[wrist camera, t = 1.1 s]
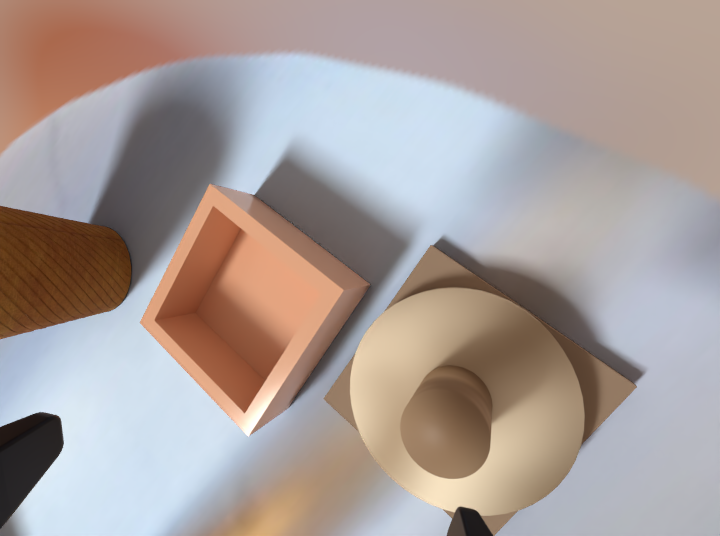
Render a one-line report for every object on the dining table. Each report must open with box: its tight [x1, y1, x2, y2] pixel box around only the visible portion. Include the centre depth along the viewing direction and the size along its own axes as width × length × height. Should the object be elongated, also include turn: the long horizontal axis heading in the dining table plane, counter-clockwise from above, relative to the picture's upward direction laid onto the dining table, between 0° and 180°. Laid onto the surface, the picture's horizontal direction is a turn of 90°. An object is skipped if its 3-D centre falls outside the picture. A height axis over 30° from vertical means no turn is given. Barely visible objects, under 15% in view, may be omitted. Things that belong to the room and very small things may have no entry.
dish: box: [140, 184, 371, 436], centre depth 20 cm, size 9×9×4 cm
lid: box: [350, 287, 585, 516], centre depth 15 cm, size 10×10×4 cm
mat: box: [324, 245, 637, 536], centre depth 17 cm, size 10×10×1 cm
